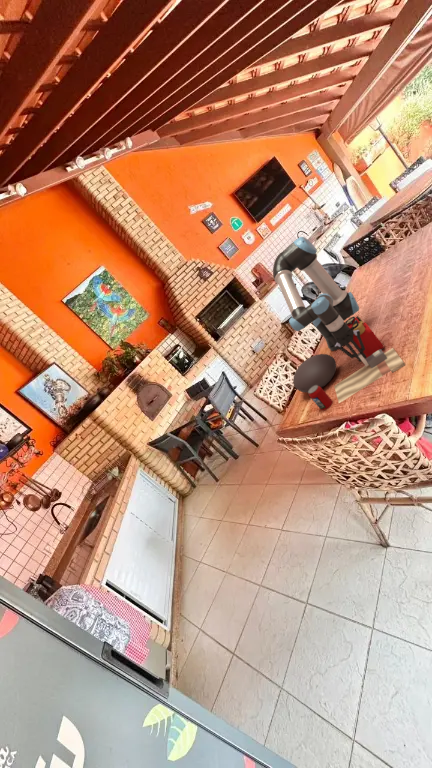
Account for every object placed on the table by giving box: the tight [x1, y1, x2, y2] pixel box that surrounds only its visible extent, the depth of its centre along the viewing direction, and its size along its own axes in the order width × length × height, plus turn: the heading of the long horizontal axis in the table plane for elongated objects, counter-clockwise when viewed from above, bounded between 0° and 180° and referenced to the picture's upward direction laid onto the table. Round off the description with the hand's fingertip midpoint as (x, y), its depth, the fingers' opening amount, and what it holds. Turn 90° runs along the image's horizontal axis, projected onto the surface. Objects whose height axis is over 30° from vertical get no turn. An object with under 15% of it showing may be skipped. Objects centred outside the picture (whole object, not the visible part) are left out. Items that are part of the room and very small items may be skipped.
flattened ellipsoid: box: [292, 353, 337, 393], centre depth 203 cm, size 25×25×15 cm
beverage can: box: [307, 385, 334, 411], centre depth 180 cm, size 7×7×12 cm
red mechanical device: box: [344, 315, 385, 359], centre depth 190 cm, size 16×10×20 cm, turn 168°
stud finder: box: [366, 349, 387, 368], centre depth 178 cm, size 5×8×4 cm, turn 77°
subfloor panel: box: [333, 347, 406, 404], centre depth 177 cm, size 18×32×1 cm, turn 77°
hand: (367, 364), depth 180 cm, fingers closed
